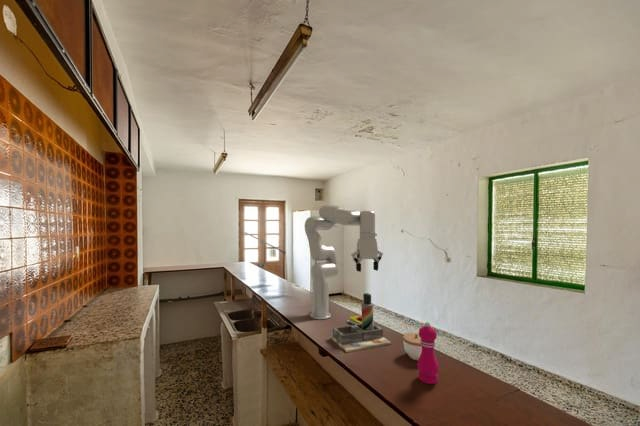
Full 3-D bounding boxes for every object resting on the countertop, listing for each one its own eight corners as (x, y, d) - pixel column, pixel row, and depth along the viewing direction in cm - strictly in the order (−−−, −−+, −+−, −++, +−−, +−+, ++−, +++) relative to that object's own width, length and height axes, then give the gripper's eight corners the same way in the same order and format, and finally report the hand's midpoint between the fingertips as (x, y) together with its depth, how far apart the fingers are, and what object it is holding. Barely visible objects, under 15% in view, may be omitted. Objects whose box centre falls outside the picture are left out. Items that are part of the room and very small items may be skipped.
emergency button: (361, 322, 146) (346, 313, 159) (361, 330, 146) (346, 321, 159) (376, 319, 150) (359, 311, 163) (376, 327, 150) (359, 319, 163)
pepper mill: (437, 387, 94) (436, 327, 95) (415, 381, 98) (414, 323, 99) (440, 377, 100) (439, 321, 101) (419, 371, 104) (419, 317, 105)
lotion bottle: (360, 332, 139) (359, 292, 139) (371, 331, 139) (371, 291, 139) (363, 337, 133) (363, 295, 133) (375, 336, 134) (374, 295, 134)
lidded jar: (435, 358, 115) (435, 335, 115) (420, 365, 108) (420, 341, 109) (413, 348, 123) (412, 327, 124) (397, 355, 117) (397, 332, 117)
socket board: (331, 338, 134) (331, 327, 134) (371, 331, 143) (371, 321, 143) (346, 352, 119) (346, 340, 120) (391, 344, 128) (391, 333, 128)
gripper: (377, 235, 144) (377, 268, 144) (348, 235, 138) (348, 270, 137) (386, 236, 137) (386, 271, 137) (355, 236, 131) (355, 273, 130)
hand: (367, 270), depth 137 cm, fingers open, 9 cm apart
